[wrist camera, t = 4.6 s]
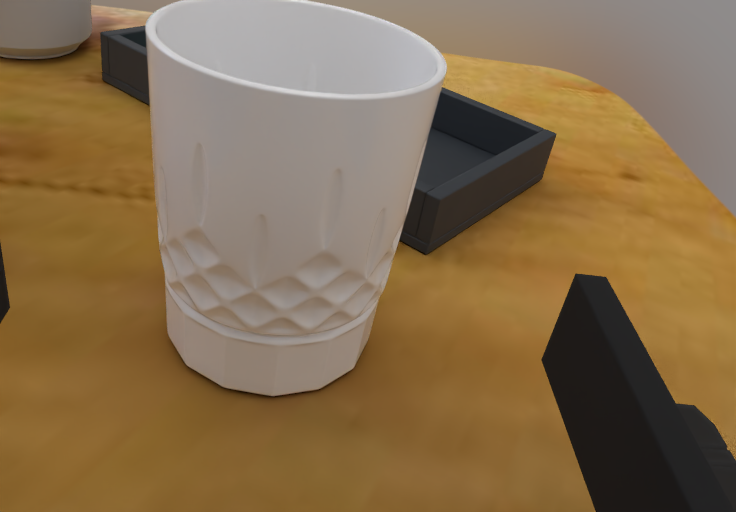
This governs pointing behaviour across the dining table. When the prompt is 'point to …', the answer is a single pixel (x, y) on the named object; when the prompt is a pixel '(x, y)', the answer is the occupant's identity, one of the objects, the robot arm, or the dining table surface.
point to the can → (43, 27)
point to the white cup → (282, 180)
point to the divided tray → (441, 156)
